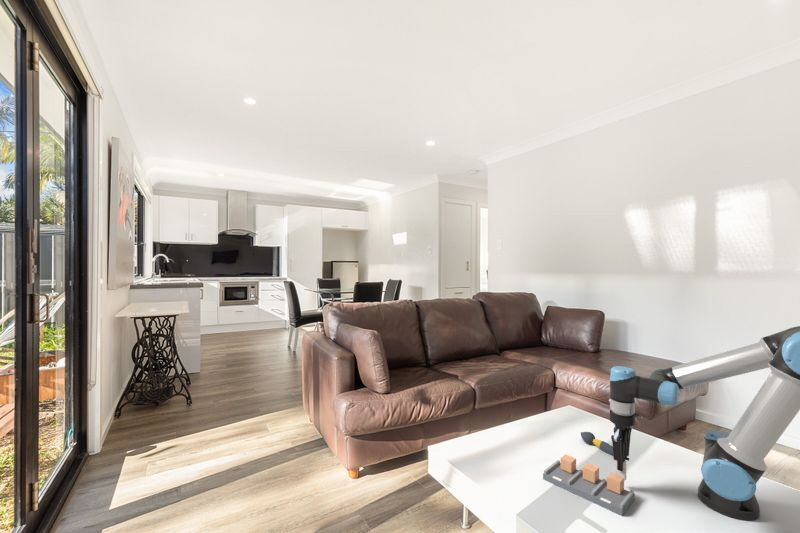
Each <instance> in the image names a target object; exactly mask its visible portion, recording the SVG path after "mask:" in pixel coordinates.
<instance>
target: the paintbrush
mask: <svg viewBox="0 0 800 533" xmlns="http://www.w3.org/2000/svg"><path fill="white" fill-rule="evenodd" d="M580 436H581V439H582V440H583V442H584V443H585V444H586V445H593V444H594V445H595V446H596V447H597V448H598V449H600V450H601V451H602V452H604V453H606V454H609V455H611V456H613V457H614V455H613V445H611V444H609V443H607V442H606V441H604V440H600V439H597V438H596V437H595V435H594V434H593V433H592V432H591V431H581V432H580Z"/></svg>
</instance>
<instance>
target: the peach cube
mask: <svg viewBox="0 0 800 533" xmlns="http://www.w3.org/2000/svg"><path fill="white" fill-rule="evenodd" d="M582 470H583V479H586V480H588V481H590V482H593V483H595V482H596V481H597V480H598V479H600V467H598V466H596V465H593V464H590V463H588V462H587V463H585V465H584V466H582Z"/></svg>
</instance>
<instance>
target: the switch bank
mask: <svg viewBox="0 0 800 533" xmlns="http://www.w3.org/2000/svg"><path fill="white" fill-rule="evenodd" d="M542 480H544V481H545V482H548V483H550V484H552V485H555V486H557V487H559V488H561V489H564V490H565V491H567V492H569V493H572V494H573V495H576V496H578V497H580V498H582V499H585V500H586V501H589V502H590V503H591V502H592V503H593V504H596V505H598V506H599V507H602V508H604V509H606V510H608V511H610V512H613V513H615V514H617V515H619V516H621V517H622V516H623V515H624V514H625V513H626V511H627V510H628V509H629V508H630V506H631V505H632V503H634V502H635V496H636V494H635V491H634V490H632V489H631V490H630V491H629V490H627V489H625V488H624V490H623V491H622V492H621V494H618V493H616V492H614V491H611V490H609V489H607V479H605V478H603V479H601V478H599V479H598V480H597V481H596V482H595V483H593V482H590V481H588V480H586V479H583V469H579V470H578V469H576V470H575V471H574V472H572V473H569V472H567V471H565V470H562V469H561V460H560V459H558V460H556V461H555V462H553V463H552V464H551V465H549V466H548V467H547V468H545V469H544V470H543V473H542Z"/></svg>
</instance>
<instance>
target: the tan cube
mask: <svg viewBox="0 0 800 533" xmlns="http://www.w3.org/2000/svg"><path fill="white" fill-rule="evenodd" d="M560 463H561V469H562V470H565V471H567V472H569V473H572V472H574V471H575V470H577V458H575V457H573V456H570V455H568V454H564V455H563V456H562V457H560Z"/></svg>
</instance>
